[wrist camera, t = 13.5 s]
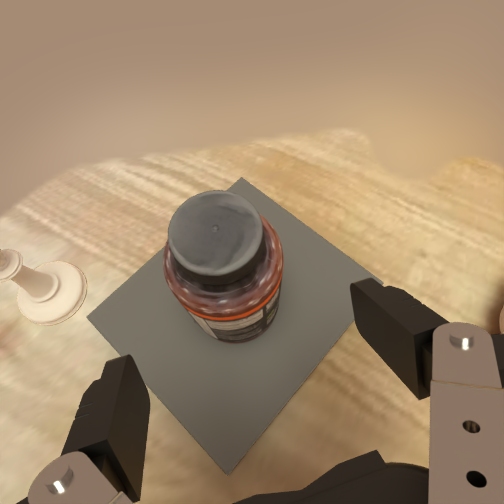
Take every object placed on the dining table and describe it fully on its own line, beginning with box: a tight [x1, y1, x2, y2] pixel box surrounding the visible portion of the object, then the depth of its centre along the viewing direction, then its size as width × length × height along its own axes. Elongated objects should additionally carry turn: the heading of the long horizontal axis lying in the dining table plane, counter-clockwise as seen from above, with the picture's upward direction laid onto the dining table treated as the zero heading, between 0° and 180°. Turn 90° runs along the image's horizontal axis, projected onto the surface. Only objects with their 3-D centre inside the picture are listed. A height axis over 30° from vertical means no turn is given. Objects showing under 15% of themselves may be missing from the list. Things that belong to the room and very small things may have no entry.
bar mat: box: [87, 177, 383, 476], centre depth 25 cm, size 16×14×1 cm
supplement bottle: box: [163, 190, 284, 343], centre depth 19 cm, size 6×6×11 cm
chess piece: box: [0, 249, 87, 325], centre depth 22 cm, size 5×5×10 cm
